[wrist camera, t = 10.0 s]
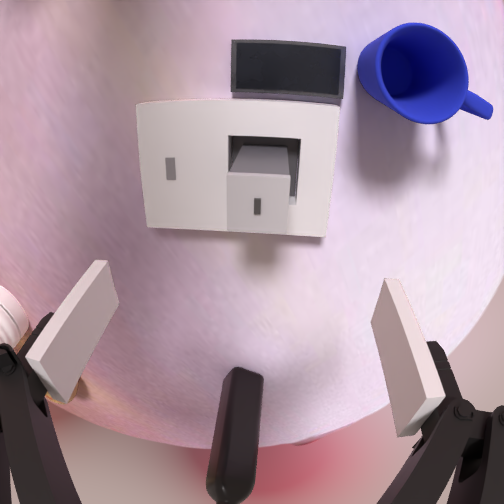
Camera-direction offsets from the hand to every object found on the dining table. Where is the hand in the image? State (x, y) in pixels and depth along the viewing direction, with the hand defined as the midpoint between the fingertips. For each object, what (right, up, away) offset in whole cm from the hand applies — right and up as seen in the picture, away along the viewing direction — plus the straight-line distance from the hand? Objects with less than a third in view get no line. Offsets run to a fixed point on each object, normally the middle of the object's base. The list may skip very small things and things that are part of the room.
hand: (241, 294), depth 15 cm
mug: (+16, +20, +13) cm, 28 cm away
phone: (+4, +20, +13) cm, 24 cm away
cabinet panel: (-1, +11, +19) cm, 22 cm away
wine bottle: (-1, -19, +38) cm, 42 cm away
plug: (+2, +11, +19) cm, 22 cm away
